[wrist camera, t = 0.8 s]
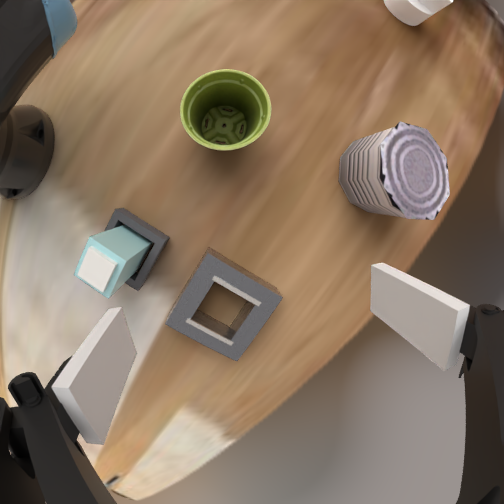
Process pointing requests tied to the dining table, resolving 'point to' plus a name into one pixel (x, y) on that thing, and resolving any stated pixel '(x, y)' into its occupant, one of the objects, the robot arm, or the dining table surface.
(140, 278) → the holster
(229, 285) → the port block
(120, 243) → the plug
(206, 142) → the plant pot
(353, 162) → the can
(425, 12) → the cylinder with rectangular tab
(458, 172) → the dining table surface
